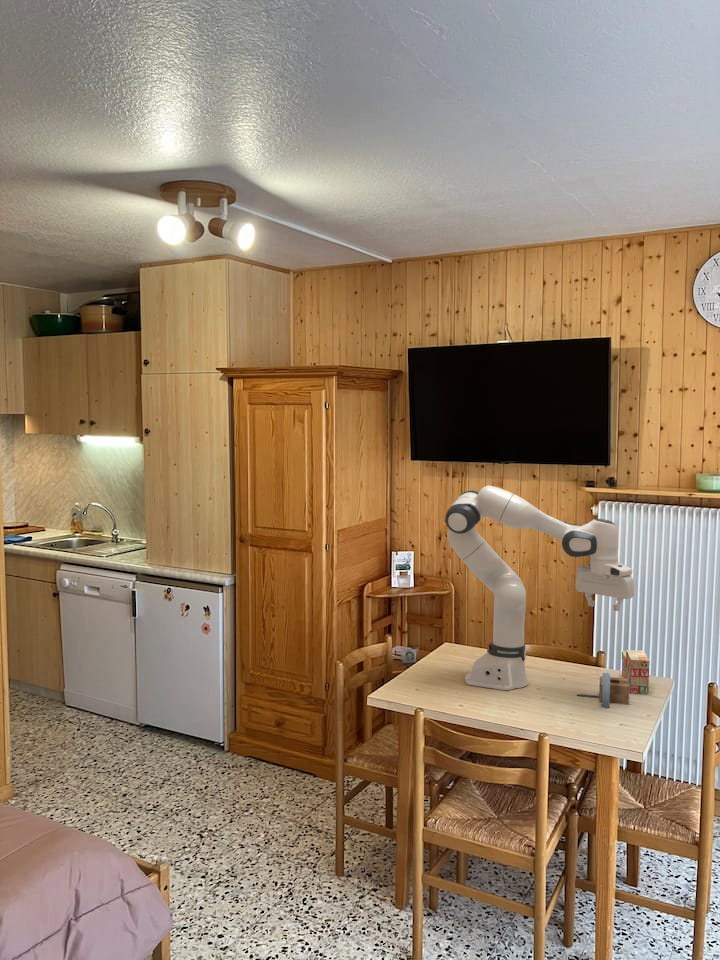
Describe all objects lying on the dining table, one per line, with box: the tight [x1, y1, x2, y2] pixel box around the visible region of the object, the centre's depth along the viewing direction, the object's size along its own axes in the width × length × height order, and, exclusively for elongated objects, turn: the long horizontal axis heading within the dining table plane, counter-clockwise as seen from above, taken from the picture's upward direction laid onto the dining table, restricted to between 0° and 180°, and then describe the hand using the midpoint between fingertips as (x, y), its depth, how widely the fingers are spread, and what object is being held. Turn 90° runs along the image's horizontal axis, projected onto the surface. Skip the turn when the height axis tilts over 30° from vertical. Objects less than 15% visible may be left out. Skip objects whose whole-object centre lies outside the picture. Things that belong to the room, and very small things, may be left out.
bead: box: [599, 675, 630, 705], centre depth 264 cm, size 9×9×6 cm
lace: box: [576, 693, 599, 699], centre depth 267 cm, size 7×1×1 cm, turn 75°
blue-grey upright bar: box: [601, 672, 611, 709], centre depth 256 cm, size 2×2×11 cm
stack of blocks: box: [621, 649, 650, 695], centre depth 280 cm, size 21×6×12 cm, turn 169°
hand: (603, 608), depth 261 cm, fingers open, 8 cm apart
